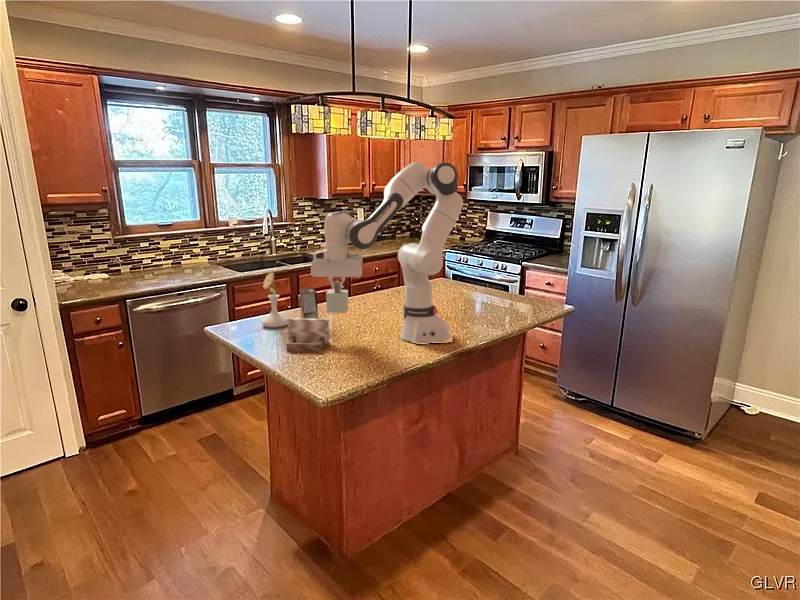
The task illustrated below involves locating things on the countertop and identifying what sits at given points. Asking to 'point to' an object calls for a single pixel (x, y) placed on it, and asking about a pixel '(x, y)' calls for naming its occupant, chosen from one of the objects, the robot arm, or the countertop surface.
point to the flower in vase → (273, 306)
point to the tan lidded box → (307, 334)
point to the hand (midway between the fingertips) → (337, 287)
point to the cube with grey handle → (337, 300)
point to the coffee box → (309, 304)
